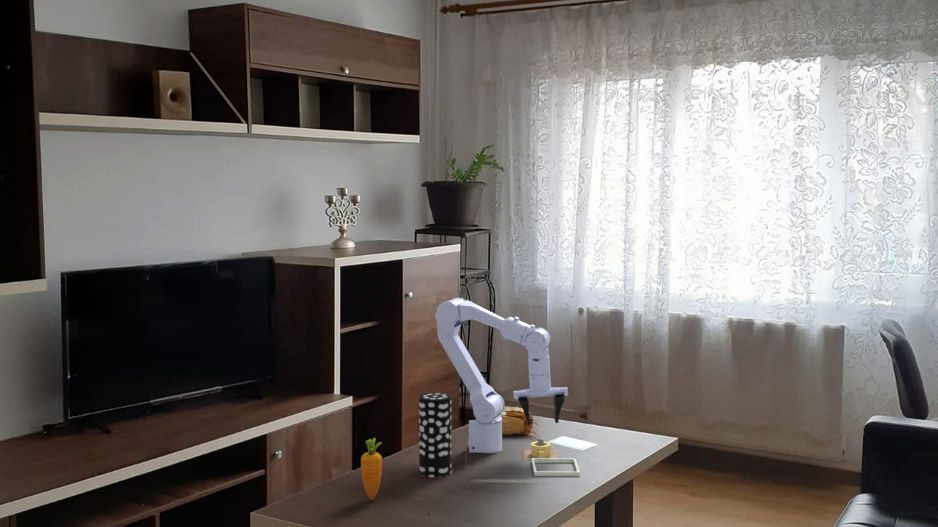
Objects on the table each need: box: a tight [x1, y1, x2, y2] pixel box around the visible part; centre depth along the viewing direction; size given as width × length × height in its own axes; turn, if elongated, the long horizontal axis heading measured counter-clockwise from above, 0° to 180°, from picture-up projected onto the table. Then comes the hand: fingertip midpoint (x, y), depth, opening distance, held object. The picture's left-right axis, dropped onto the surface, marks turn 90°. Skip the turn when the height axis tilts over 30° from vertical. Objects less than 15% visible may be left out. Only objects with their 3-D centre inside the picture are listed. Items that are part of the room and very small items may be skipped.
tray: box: [531, 457, 581, 477], centre depth 241 cm, size 12×12×2 cm
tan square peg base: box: [522, 437, 559, 461], centre depth 252 cm, size 9×9×5 cm
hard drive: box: [547, 435, 600, 452], centre depth 263 cm, size 2×8×12 cm
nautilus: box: [501, 406, 542, 440], centre depth 274 cm, size 8×22×15 cm
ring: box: [530, 440, 552, 458], centre depth 252 cm, size 5×7×3 cm
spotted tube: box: [418, 392, 452, 478], centre depth 239 cm, size 8×8×20 cm
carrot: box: [360, 437, 383, 501], centre depth 219 cm, size 5×5×15 cm
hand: (542, 423), depth 252 cm, fingers open, 7 cm apart
